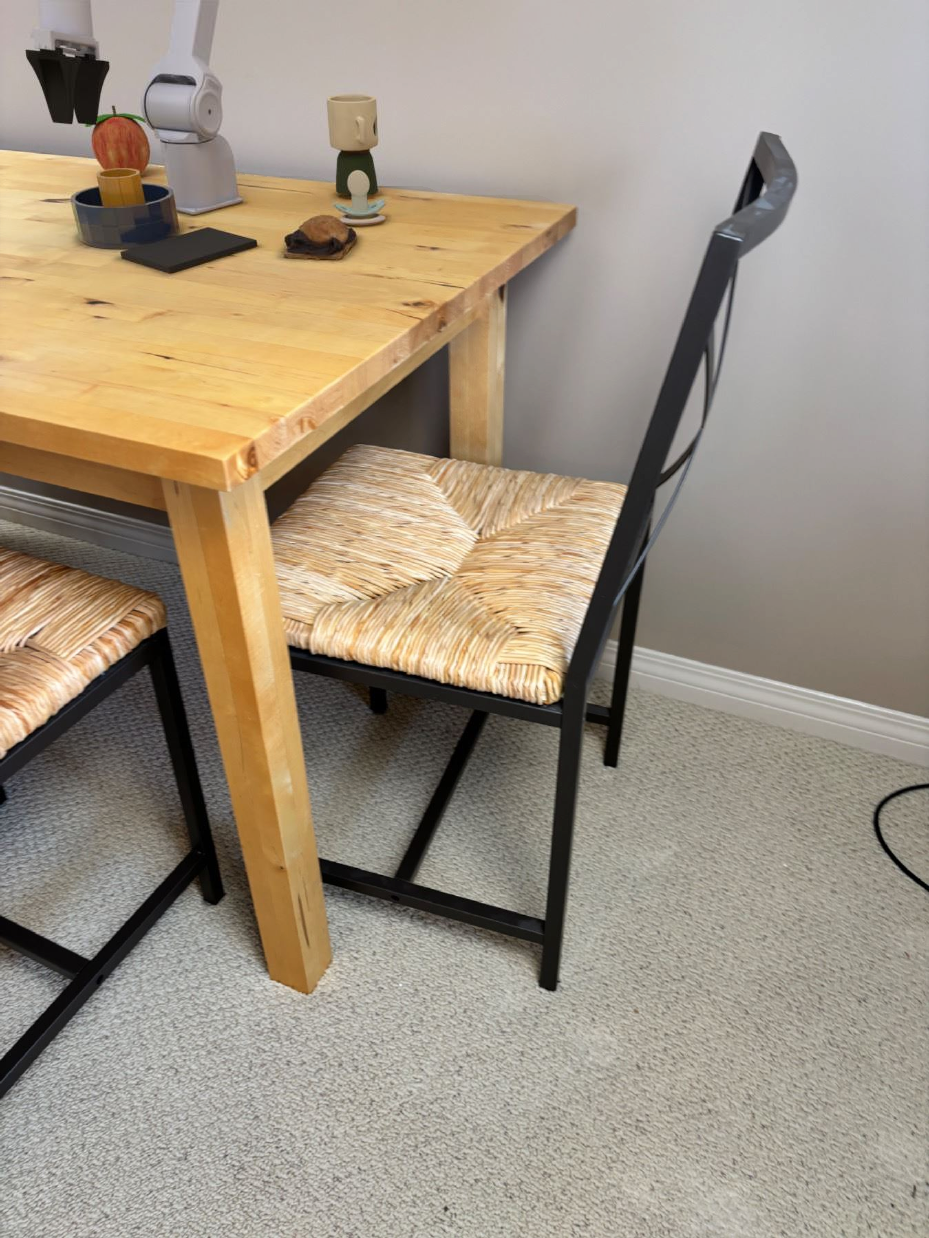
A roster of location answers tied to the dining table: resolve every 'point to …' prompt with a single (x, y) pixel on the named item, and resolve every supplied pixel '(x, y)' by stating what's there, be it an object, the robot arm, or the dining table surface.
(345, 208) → the pacifier
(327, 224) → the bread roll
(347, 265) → the dining table surface
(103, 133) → the fruit
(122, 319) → the dining table surface
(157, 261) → the pot holder
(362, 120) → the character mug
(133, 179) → the cup
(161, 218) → the pot
